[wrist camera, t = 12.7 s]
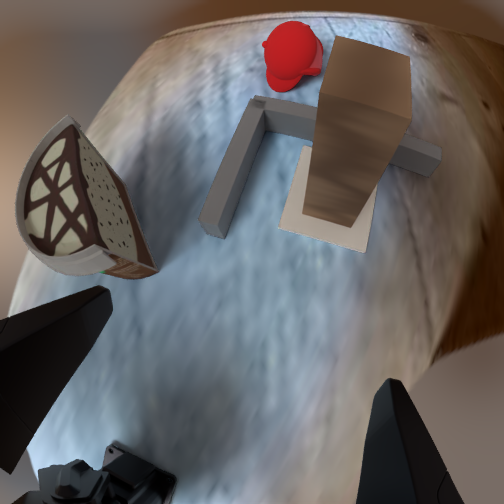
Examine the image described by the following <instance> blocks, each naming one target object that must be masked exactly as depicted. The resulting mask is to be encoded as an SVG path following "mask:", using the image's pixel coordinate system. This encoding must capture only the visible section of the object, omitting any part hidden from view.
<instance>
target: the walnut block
mask: <svg viewBox="0 0 504 504" xmlns="http://www.w3.org/2000/svg"><path fill="white" fill-rule="evenodd" d="M411 120H412V95H411V69H410V57H409V56H406V55H403V54H400V53H397V52H394V51H391V50H388V49H385V48H382V47H378V46H375V45H372V44H368V43H365V42H361V41H357V40H353V39H349V38H345V37H341V36H336V37H335V40H334V44H333V47H332V51H331V54H330V58H329V61H328V65H327V68H326V72H325V75H324V78H323V82H322V85H321V89H320V92H319V100H318V108H317V116H316V123H315V131H314V138H313V145H312V152H311V159H310V166H309V172H308V179H307V185H306V192H305V198H304V204H303V210H302V214H304V215H307V216H311V217H314V218H318V219H321V220H325V221H328V222H332V223H335V224H339V225H342V226H345V227H349V228H351V227H352V226H353V224H354V222H355V221H356V219H357V217H358V216H359V214H360V212H361V211H362V209H363V207H364V206H365V204H366V202H367V200H368V199H369V197H370V195H371V194H372V192H373V190H374V188H375V187H376V185H377V183H378V181H379V180H380V178H381V176H382V174H383V173H384V171H385V169H386V167H387V165H388V164H389V162H390V160H391V158H392V156H393V154H394V153H395V151H396V149H397V147H398V145H399V143H400V141H401V140H402V138H403V136H404V134H405V132H406V130H407V128H408V126H409V124H410V122H411Z"/></svg>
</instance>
